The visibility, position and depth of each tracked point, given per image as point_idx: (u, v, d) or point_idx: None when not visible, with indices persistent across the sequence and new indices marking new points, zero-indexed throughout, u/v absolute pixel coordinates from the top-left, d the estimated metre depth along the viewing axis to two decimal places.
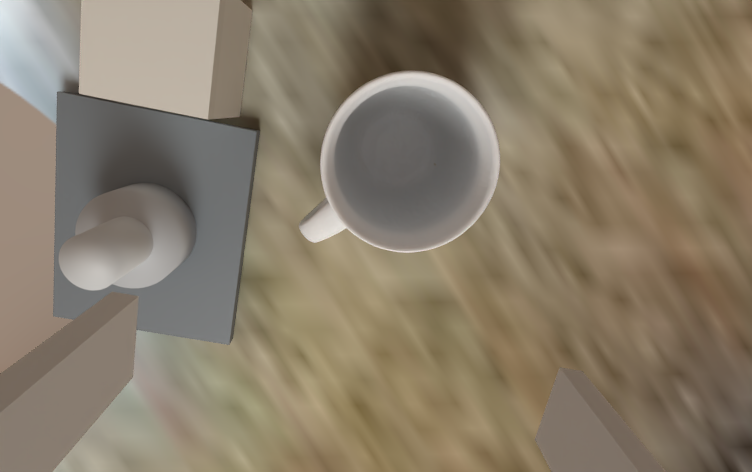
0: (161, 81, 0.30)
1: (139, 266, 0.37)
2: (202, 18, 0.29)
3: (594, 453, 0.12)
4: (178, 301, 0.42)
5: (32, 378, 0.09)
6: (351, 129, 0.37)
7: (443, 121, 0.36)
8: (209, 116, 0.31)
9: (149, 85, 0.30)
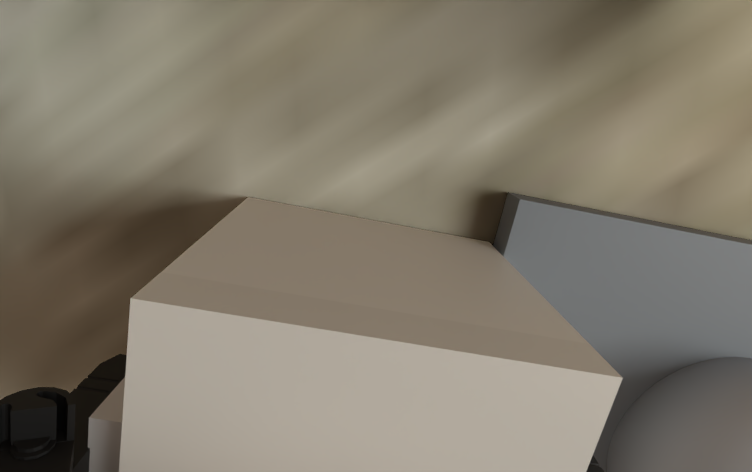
0: None
1: None
2: (264, 372, 0.08)
3: None
4: None
5: None
6: None
7: None
8: (604, 367, 0.08)
9: None
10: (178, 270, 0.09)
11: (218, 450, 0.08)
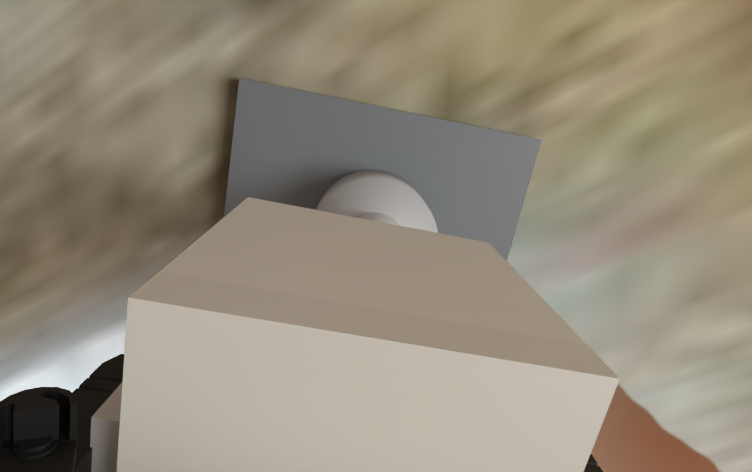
0: None
1: None
2: (261, 372, 0.08)
3: None
4: (471, 202, 0.32)
5: None
6: None
7: None
8: (601, 367, 0.08)
9: None
10: (176, 270, 0.09)
11: (215, 449, 0.08)
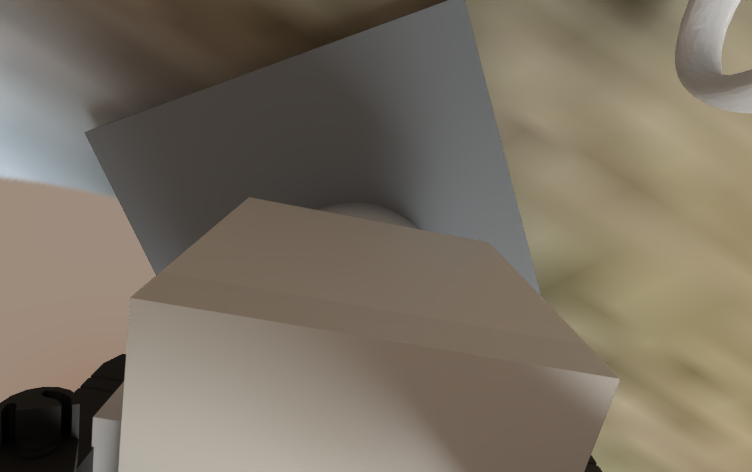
0: None
1: None
2: (263, 371, 0.08)
3: None
4: None
5: None
6: None
7: None
8: (601, 368, 0.08)
9: None
10: (178, 270, 0.09)
11: (217, 449, 0.08)
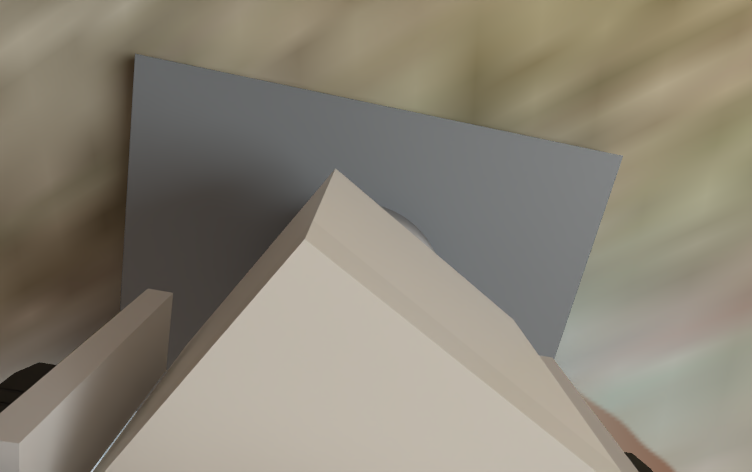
0: (382, 430, 0.08)
1: None
2: None
3: None
4: (509, 252, 0.20)
5: (87, 368, 0.10)
6: None
7: None
8: (299, 242, 0.07)
9: (430, 438, 0.08)
10: None
11: None
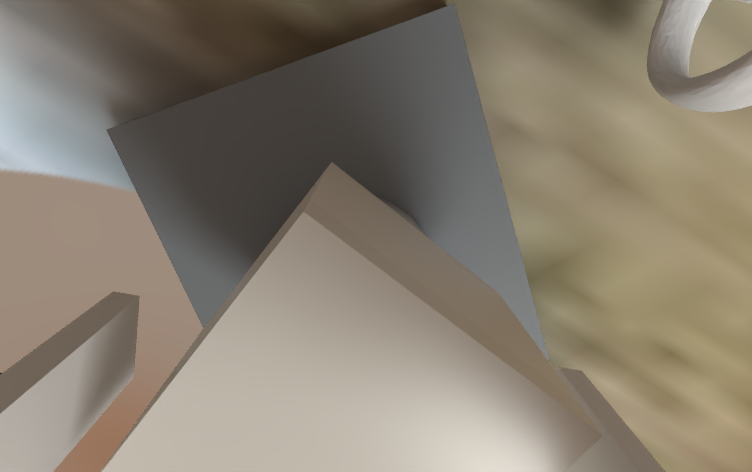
0: (373, 367, 0.10)
1: None
2: (174, 449, 0.10)
3: (593, 453, 0.12)
4: None
5: (33, 378, 0.09)
6: None
7: None
8: (299, 215, 0.09)
9: (412, 373, 0.10)
10: None
11: None
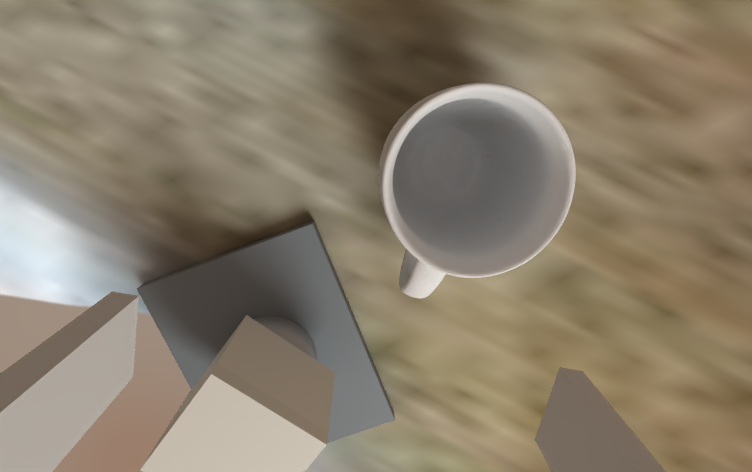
0: (240, 422, 0.28)
1: None
2: (171, 453, 0.29)
3: (594, 453, 0.12)
4: None
5: (32, 378, 0.09)
6: (394, 173, 0.35)
7: (474, 113, 0.34)
8: (211, 373, 0.28)
9: (254, 424, 0.28)
10: None
11: None
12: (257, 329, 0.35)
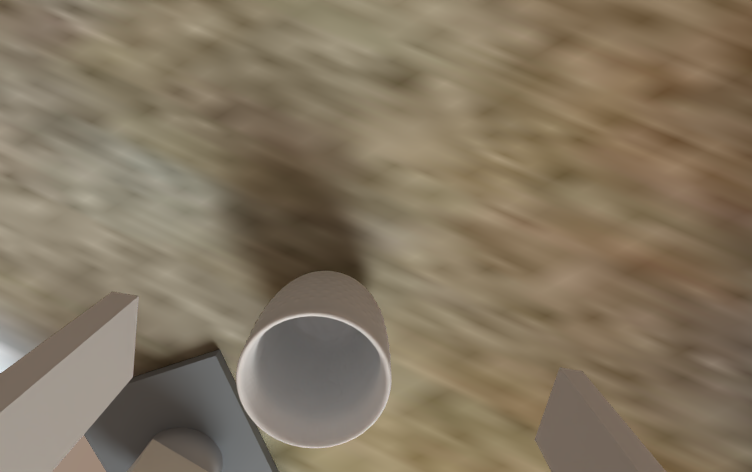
0: None
1: None
2: None
3: (594, 453, 0.12)
4: None
5: (32, 378, 0.09)
6: (280, 323, 0.42)
7: None
8: None
9: None
10: None
11: None
12: (160, 453, 0.41)
